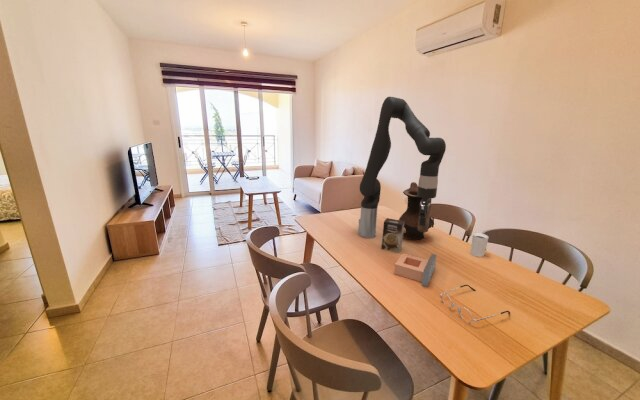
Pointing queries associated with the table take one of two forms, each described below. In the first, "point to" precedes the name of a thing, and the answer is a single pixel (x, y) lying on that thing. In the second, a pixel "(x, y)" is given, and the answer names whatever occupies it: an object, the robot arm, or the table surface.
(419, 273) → the holder
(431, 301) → the table surface
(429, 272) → the rail base
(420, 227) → the dowel
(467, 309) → the eyeglasses
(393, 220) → the coffee box
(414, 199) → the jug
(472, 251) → the drinking glass
